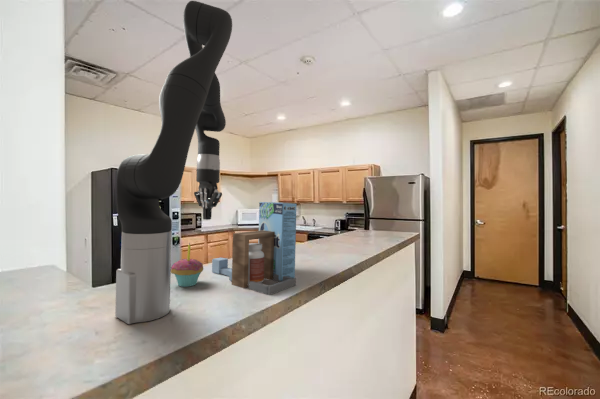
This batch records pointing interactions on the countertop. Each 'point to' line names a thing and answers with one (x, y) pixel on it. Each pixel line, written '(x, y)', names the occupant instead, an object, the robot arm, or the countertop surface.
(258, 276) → the pill bottle
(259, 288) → the dock
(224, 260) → the sled
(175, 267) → the cupcake
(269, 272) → the tunnel
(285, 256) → the light blue upright box
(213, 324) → the countertop surface
